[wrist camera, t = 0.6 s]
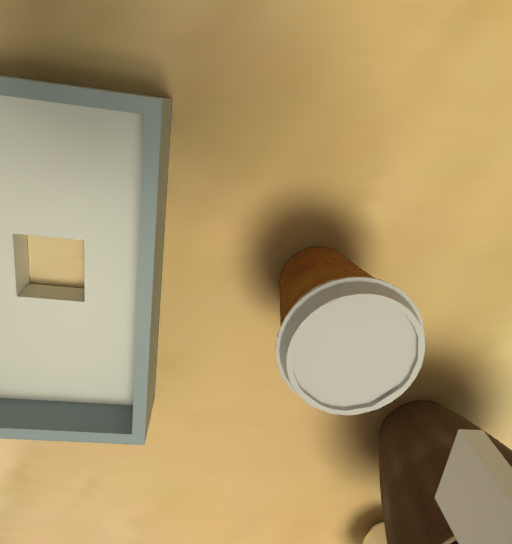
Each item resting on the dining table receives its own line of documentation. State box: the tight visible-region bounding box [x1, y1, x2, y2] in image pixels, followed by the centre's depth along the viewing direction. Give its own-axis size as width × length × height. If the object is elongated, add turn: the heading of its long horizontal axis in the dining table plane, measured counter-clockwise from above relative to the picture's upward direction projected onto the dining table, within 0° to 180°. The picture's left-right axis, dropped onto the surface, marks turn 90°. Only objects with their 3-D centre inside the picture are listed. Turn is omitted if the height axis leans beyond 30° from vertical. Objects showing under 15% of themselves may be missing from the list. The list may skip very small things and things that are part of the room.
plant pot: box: [379, 401, 512, 544], centre depth 37 cm, size 15×15×16 cm
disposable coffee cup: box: [276, 247, 425, 415], centre depth 32 cm, size 10×10×12 cm
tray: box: [0, 75, 172, 445], centre depth 33 cm, size 26×16×6 cm, turn 173°
